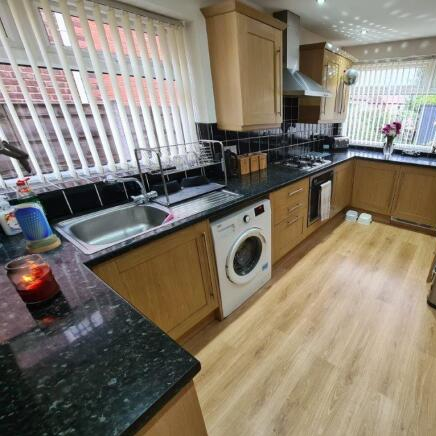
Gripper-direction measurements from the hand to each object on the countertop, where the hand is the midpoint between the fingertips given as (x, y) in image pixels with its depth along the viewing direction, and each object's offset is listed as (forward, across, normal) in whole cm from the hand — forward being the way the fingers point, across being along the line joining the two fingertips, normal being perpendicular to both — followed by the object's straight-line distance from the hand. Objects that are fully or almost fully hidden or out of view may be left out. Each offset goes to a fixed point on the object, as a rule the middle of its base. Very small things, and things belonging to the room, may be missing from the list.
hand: (8, 175), depth 100 cm
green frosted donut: (+27, +1, -18) cm, 32 cm away
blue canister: (+24, +1, -15) cm, 29 cm away
